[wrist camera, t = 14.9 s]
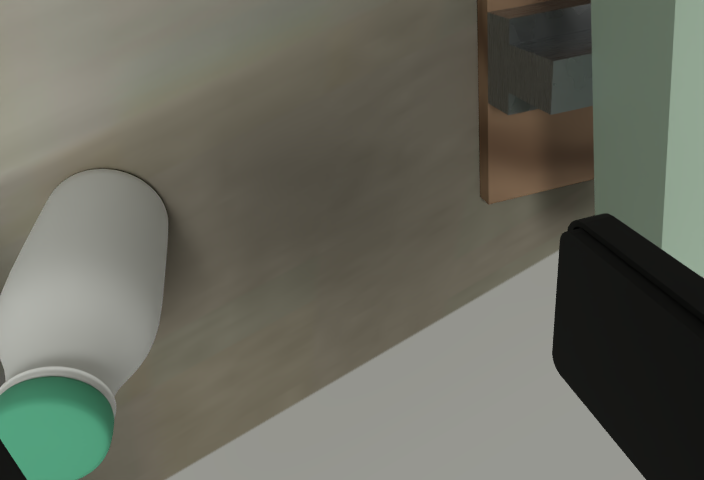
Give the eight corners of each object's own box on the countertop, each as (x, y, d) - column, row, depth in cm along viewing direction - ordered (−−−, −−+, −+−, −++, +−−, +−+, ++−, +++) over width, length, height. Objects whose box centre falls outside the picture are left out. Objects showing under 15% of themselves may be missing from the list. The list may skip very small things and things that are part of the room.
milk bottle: (50, 154, 36) (-79, 363, 19) (177, 176, 38) (165, 377, 21) (42, 259, 39) (-74, 520, 22) (160, 273, 41) (139, 515, 24)
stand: (475, -133, 34) (564, -152, 26) (625, -155, 35) (754, -179, 27) (480, 196, 45) (543, 255, 37) (593, 169, 46) (678, 220, 38)
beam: (588, -150, 26) (685, -169, 21) (685, -180, 26) (804, -204, 21) (595, 242, 37) (659, 292, 32) (663, 218, 38) (736, 263, 33)
